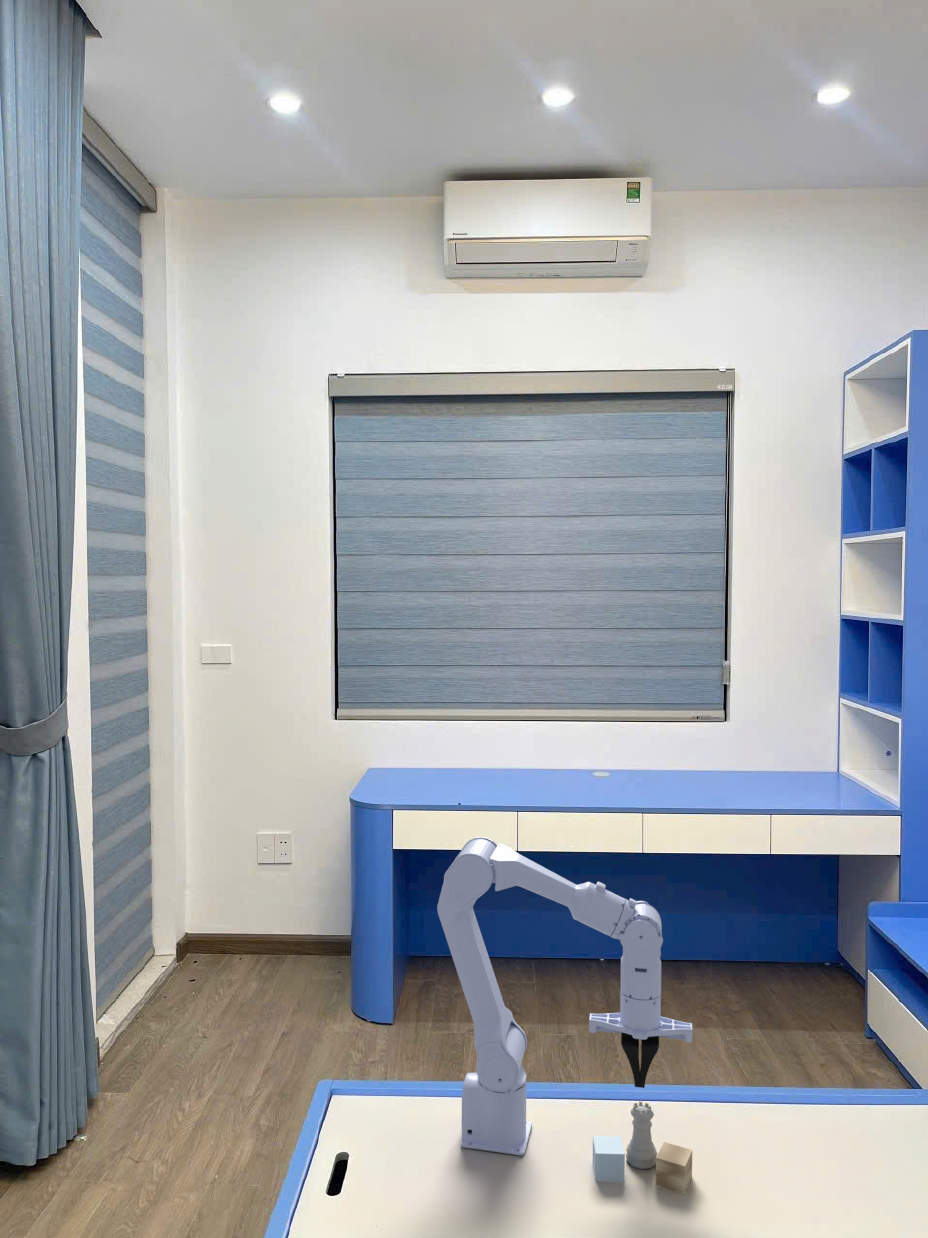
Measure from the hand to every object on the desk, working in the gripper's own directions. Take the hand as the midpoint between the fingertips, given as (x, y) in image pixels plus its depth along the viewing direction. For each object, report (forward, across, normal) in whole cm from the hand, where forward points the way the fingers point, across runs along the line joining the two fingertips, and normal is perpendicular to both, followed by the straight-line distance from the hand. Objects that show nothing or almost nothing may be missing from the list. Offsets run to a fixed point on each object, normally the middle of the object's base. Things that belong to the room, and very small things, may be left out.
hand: (639, 1084), depth 133 cm
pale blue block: (+11, -4, -5) cm, 12 cm away
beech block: (+11, +5, -5) cm, 13 cm away
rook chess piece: (+11, 0, -1) cm, 11 cm away
